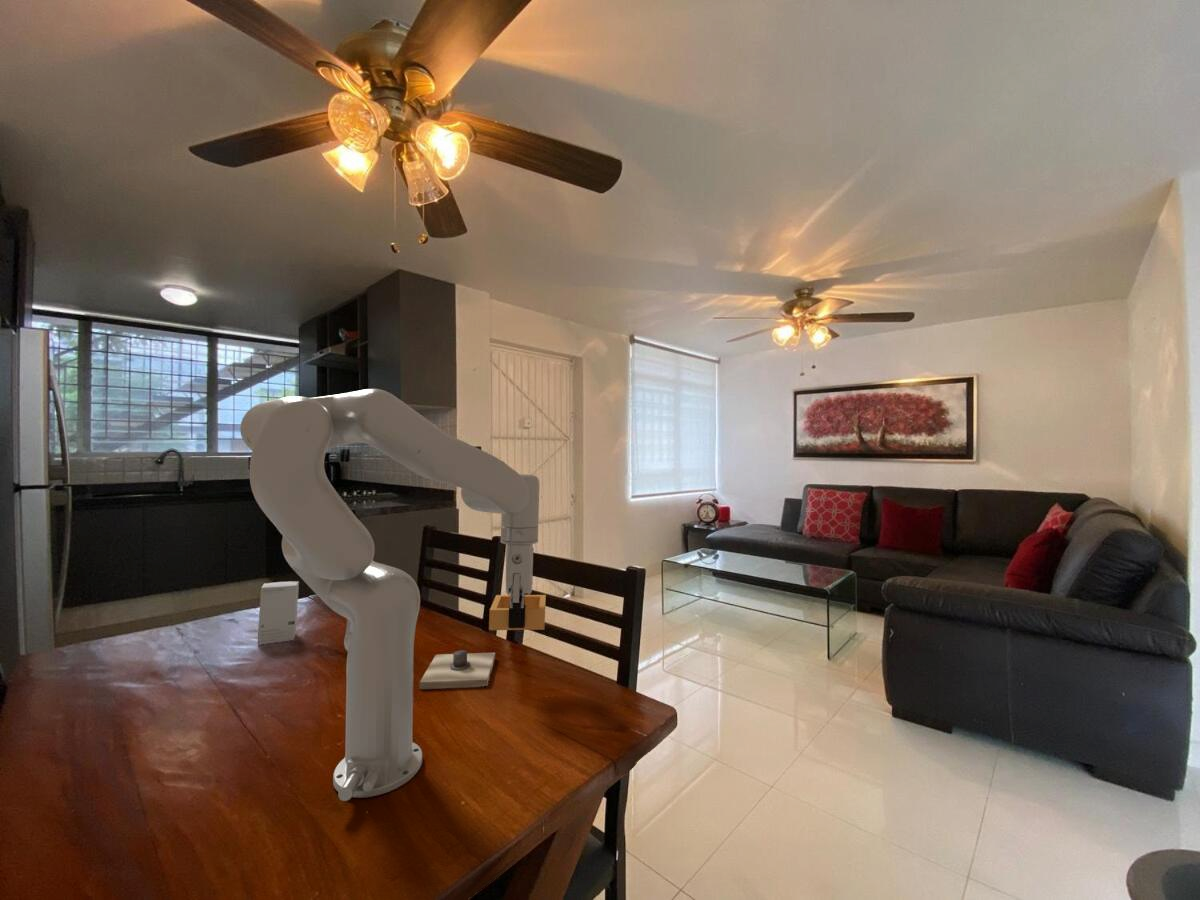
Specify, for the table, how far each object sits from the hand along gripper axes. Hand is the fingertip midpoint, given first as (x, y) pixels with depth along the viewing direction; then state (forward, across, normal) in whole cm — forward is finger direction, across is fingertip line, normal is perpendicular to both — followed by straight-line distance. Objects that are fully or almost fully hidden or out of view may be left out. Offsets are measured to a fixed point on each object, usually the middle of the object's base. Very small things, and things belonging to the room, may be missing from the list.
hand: (516, 625), depth 95 cm
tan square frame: (+1, +5, 0) cm, 5 cm away
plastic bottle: (+15, +28, +41) cm, 53 cm away
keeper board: (+15, +14, +13) cm, 24 cm away
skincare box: (+16, +38, +65) cm, 77 cm away
